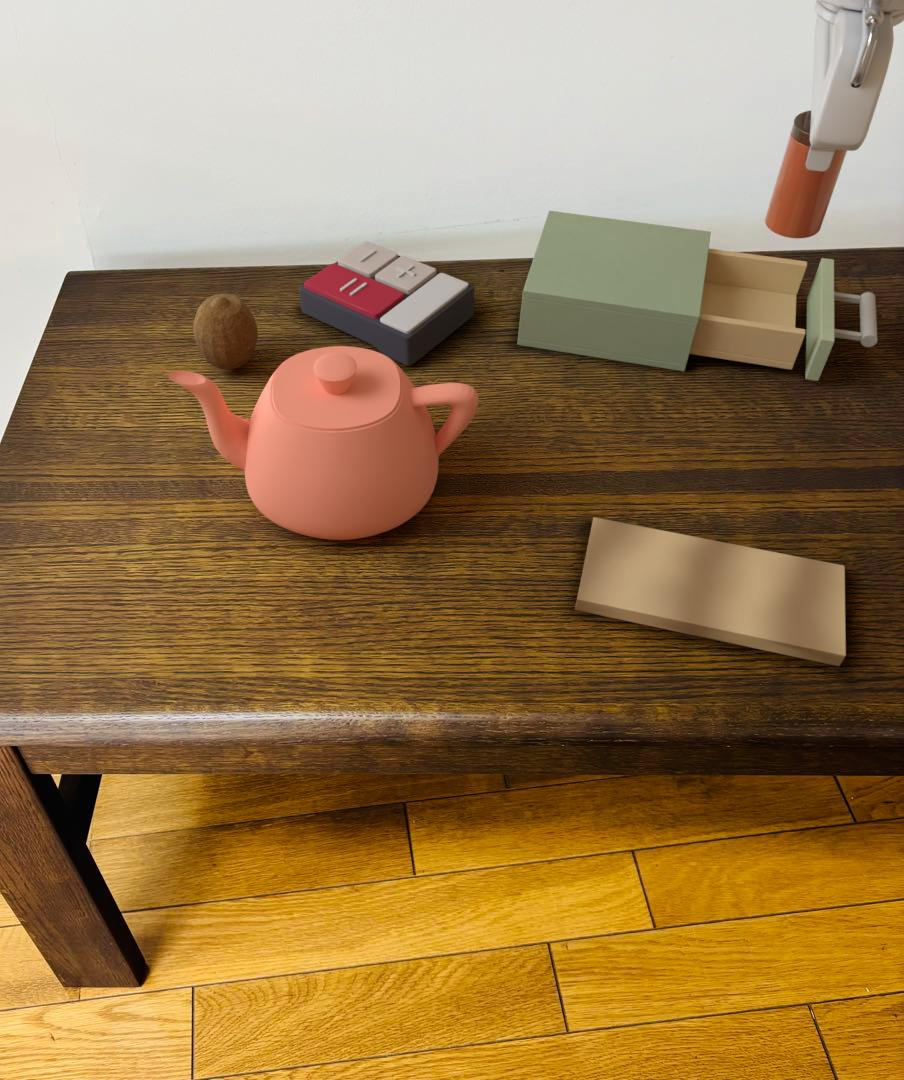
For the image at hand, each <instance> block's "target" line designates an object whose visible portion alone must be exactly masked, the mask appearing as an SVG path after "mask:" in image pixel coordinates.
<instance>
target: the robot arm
mask: <svg viewBox="0 0 904 1080" xmlns="http://www.w3.org/2000/svg"><path fill="white" fill-rule="evenodd" d="M814 11H815V13H816V19H815V20H816V21H815V27H814V47H813V67H812V83H811V84H812V85H811V86H812V88H811V103H810V104H811V105H810V108H811V109H810V111H811V124H810V146H809V149H808V152H807V156H806V168H807V169H808V170H812V171H821V172H823V171H826V170H828V169H829V167H830V165H831V162H832V159H833V156H834V153H835V151H836V150H846V151H847V152H849V151H850V152H855V151H857V150H859V149H860V148H861V146H863V144H864V142H865V140H866V138H867V136H868V133H869V130H870V127H871V123H872V120H873V117H874V115H875V111H876V108H877V105H878V102H879V99H880V95H881V93H882V89H883V86H884V82H885V80H886V76H887V73H888V70H889V65H890V61H891V57H892V53H893V47H894V40H895V38H894V27H895V26H897V25H900V24H901V23H903V22H904V0H816V1H815V4H814Z"/></svg>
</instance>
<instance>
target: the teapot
mask: <svg viewBox="0 0 904 1080" xmlns="http://www.w3.org/2000/svg"><path fill="white" fill-rule="evenodd" d="M167 375H168V379H169V380H171V381H172V382H173V383H175V384H177V385H179V386H181V387H182V388H184V389H185V390H187V391H189V392H190V393H191V394H192V395H194V396H195V398H196V399H197V401H198V402H199V404H200V406H201V408H202V411H203V414H204V417H205V420H206V424H207V429H208V432H209V435H210V438H211V441H212V443H213V445H214V447H215V449H216V450H217V452H218V453H219V454H220V455H221V457H222V458H223V459H224V460H226V461H227V462H229V464H231V465H233V466H235V467H237V468H239V469H240V470H242V471H244V477H245V478H244V480H245V486H246V490H247V494H248V496H249V498H250V499H251V502H252V503H253V504H254V506H255V507H256V508H257V510H258V511H259V512H260V513H261V514H262V515H263V516H264V517H266V519H268V520H269V521H271V522H272V523H274V524H276V525H277V526H279V527H281V528H284V529H285V530H288V531H290V532H293V533H296V534H299V535H301V536H302V535H303V536H305V537H311V538H314V539H321V540H328V541H329V540H330V541H349V540H351V541H352V540H357V539H364V538H368V537H373V536H377V535H380V534H382V533H383V534H384V533H386V532H388V531H390V530H393V529H395V528H398V527H399V526H401V525H403V524H404V523H406V522H408V521H409V520H411V519H412V518H413V517H415V516H416V515H417V514H418V513H419V512H420V511H421V510H422V509H423V508H424V507H425V506H426V505H427V503H428V502H429V500H430V498H431V496H432V494H433V492H434V490H435V487H436V484H437V481H438V474H439V460H440V459H439V456H440V455H441V454H442V453H443V452H444V451H445V450H447V448H448V447H449V446H450V445H452V443H454V442H455V440H456V439H458V437H459V436H460V435H461V434H462V433H463V432H464V431H465V430H466V428H467V427H469V425H470V423H471V422H472V420H473V418H475V415H476V412H477V410H478V407H479V399H480V397H479V393H478V391H477V390H476V389H475V388H474V387H473V386H472V385H469V384H467V383H462V382H446V383H445V382H444V383H443V382H442V383H434V384H428V385H422V386H415V384H414V383H413V382H412V380H411V379H410V378H409V377H408V375H407V373H405V371H404V370H403V369H402V368H401V367H400V366H399V365H398V364H397V363H396V362H395V360H394V359H392V358H390V357H388V356H385V355H383V354H382V353H381V352H380V351H376V350H372V349H368V348H364V347H357V346H347V345H334V346H333V345H332V346H326V347H325V346H324V347H318V348H317V347H316V348H313V349H312V348H311V349H309V350H304V351H302V352H299V353H296V354H294V355H292V356H290V357H288V358H287V359H285V360H284V361H283V362H282V363H281V364H280V365H278V367H277V368H276V369H275V371H274V372H273V373H272V375H271V376H270V378H269V380H268V381H267V383H266V384H265V386H264V388H263V390H262V391H261V394H260V395H259V397H258V399H257V402H256V404H255V406H254V408H253V411H252V414H251V416H250V419H246V418H243V417H240V416H238V415H236V414H235V413H233V412H232V411H231V410H230V409H229V408H228V406H227V404H226V401H225V398H224V395H223V393H222V392H221V390H220V388H219V386H218V385H217V384H216V383H215V382H214V381H213V380H212V379H210V378H208V377H207V376H205V375H203V374H200V373H197V372H192V371H186V370H174V371H171V372H169V373H168V374H167ZM441 405H443V406H444V405H445V406H450V407H451V408H450V412H449V413H448V416H447V418H446V420H445V422H444V424H443V425H442V426H441V428H440V429H439V430H438V432H437V433H436V432H435V427H434V424H433V421H432V416H431V414H430V411H429V410H428V407H429V406H430V407H431V406H441Z"/></svg>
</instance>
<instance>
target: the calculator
mask: <svg viewBox="0 0 904 1080" xmlns="http://www.w3.org/2000/svg"><path fill="white" fill-rule="evenodd" d="M298 294H299V301H300V308H301V309H300V310H301V313H303V314H305V315H307V316H309V317H311V318H313V319H316V320H318V321H320V322H323V323H324V324H326V325H329V326H331V327H333V328H335V329H338V330H340V331H341V332H343V333H346V334H347V335H350V336H352V337H355V338H357V339H359V340H361V341H363V342H366V343H368V344H370V345H371V346H374V348H376V349H377V351H378V352H379V353H381V354H383V355H385V356H387V357H389V358H390V359H391V360H393V361H397V362H398V363H401V364H403V365H405V366H407V367H410V366H411V367H412V366H413V365H414V364H416V363H417V362H418V361H419V360H420V359H422V358H423V357H424V356H426V355H427V354H428V353H429V352H430V351H433V349H434V348H435V347H437V346H438V345H439V344H440V343H442V342H443V341H444V340H445V339H447V338H448V337H449V336H451V334H453V333H454V332H455V331H456V330H458V329H459V328H460V327H462V326H463V325H464V324H465V323H466V322H468V321H469V320H470V319H471V318H472V317H473V316H475V286H474V285H473V284H472V283H469V282H468V281H465V280H462V279H459V278H457V277H454V276H452V275H449V274H447V273H445V272H442V271H440V270H438V269H436V268H435V267H433V266H431V265H428V264H425V263H422V262H421V261H418V260H415V259H412V258H410V257H408V256H405V255H399V254H398V253H397V252H395V251H392V250H390V249H387V248H385V247H383V246H380V245H378V244H376V243H372V242H370V241H367V240H364V241H362V242H361V243H360V244H358V245H357V246H355V247H353V248H352V249H351V250H348V251H347V253H345V254H344V255H342V256H341V257H339V258H338V259H337V261H336V262H334V263H331V264H329V265H327V266H326V267H324V268H323V269H322V270H321V271H319V272H317V273H316V274H315V275H313V276H311V277H310V278H309V279H307V280H306V281H304V283H303V284H302V285H300V286H299V287H298Z"/></svg>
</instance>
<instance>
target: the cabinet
mask: <svg viewBox="0 0 904 1080" xmlns="http://www.w3.org/2000/svg"><path fill="white" fill-rule="evenodd" d="M711 233H712V231H708V230H702V229H701V230H700V229H695V228H694V229H692V228H684V227H677V226H670V225H669V226H668V225H662V224H656V223H655V224H654V223H646V222H639V221H631V220H623V219H618V218H617V219H616V218H609V217H601V216H593V215H587V214H586V215H585V214H580V213H570V212H564V211H563V212H562V211H557V210H556V211H555V210H548V212H547V216H546V220H545V222H544V224H543V229H542V231H541V235H540V237H539V240H538V243H537V246H536V250H535V253H534V256H533V258H532V262H531V264H530V265H531V266H530V268H529V271H528V274H527V277H526V280H525V283H524V285H523V286H524V287H523V288H522V289H523V290H522V297H521V304H520V305H521V306H520V314H519V315H520V316H519V325H518V333H517V334H518V335H517V343H516V345H517V346H523V347H529V348H534V349H540V350H541V349H542V350H548V351H553V352H559V353H560V352H561V353H565V354H573V355H578V356H579V355H580V356H586V357H589V358H591V357H592V358H596V359H603V360H610V361H615V362H623V363H628V364H634V365H641V366H648V367H653V368H661V369H666V370H671V371H679V372H685V371H686V368H687V365H688V361H689V357H690V354H689V353H690V350H691V346H692V342H693V339H694V335H695V331H696V328H697V324H698V321H699V317H700V310H701V302H702V295H703V287H704V280H705V272H706V265H707V257H708V250H709V249H710V242H711Z"/></svg>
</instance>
